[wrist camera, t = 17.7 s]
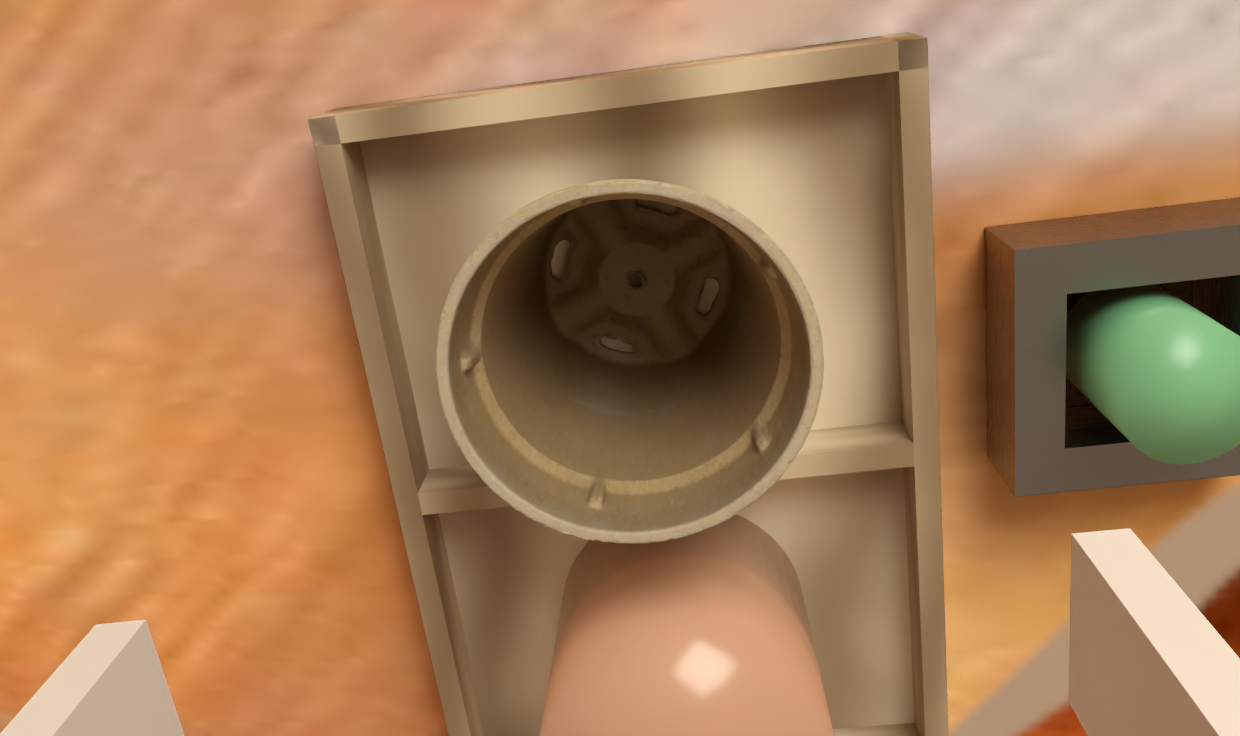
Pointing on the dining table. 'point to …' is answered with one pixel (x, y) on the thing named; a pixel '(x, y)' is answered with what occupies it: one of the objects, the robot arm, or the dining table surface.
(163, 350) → the dining table surface
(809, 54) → the wooden serving tray
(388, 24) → the dining table surface
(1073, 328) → the button
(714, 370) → the flower pot
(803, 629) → the taupe pillar candle
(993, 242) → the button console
